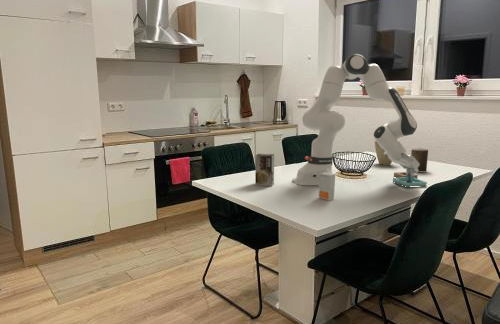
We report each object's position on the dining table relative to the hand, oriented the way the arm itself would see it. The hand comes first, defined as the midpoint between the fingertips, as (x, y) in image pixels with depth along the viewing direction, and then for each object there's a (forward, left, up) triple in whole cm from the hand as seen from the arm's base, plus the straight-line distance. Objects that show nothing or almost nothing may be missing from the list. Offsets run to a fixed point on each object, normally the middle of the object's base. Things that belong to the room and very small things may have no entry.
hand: (411, 169), depth 206 cm
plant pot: (+18, +54, -8) cm, 57 cm away
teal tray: (-1, 0, -8) cm, 8 cm away
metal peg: (-1, 0, -7) cm, 7 cm away
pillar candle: (+27, +30, -8) cm, 42 cm away
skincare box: (-56, -16, -8) cm, 58 cm away
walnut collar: (+5, +12, -8) cm, 15 cm away
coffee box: (-77, +16, -8) cm, 79 cm away
